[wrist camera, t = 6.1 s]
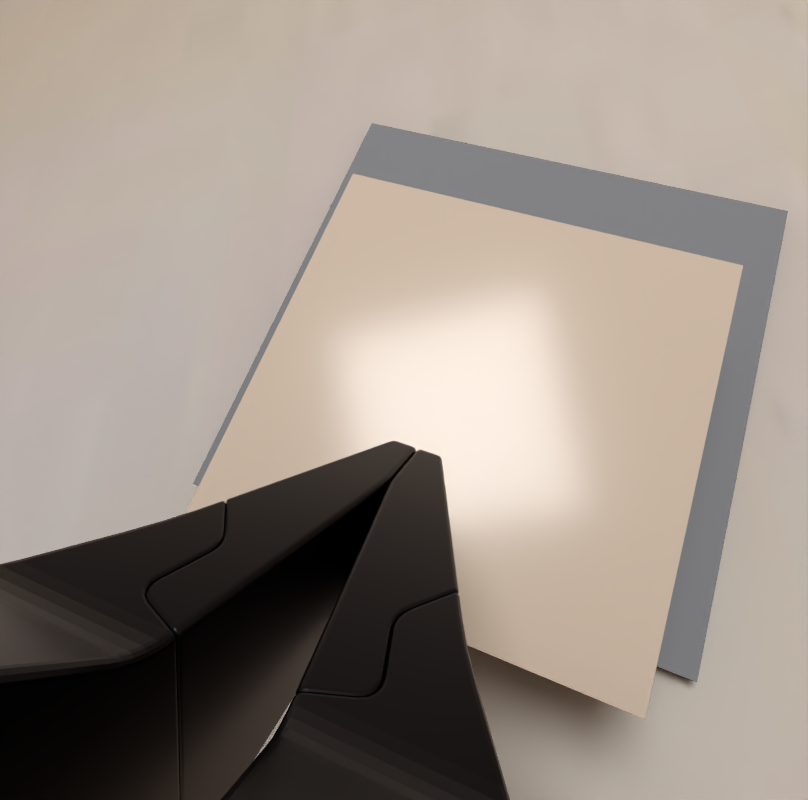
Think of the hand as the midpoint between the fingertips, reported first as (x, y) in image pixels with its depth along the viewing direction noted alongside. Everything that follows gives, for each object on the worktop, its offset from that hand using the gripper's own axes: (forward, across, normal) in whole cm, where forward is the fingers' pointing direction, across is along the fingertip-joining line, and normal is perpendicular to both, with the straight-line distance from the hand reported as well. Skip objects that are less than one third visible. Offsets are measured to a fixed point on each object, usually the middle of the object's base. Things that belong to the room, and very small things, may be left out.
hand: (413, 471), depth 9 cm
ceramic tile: (+2, 0, +6) cm, 6 cm away
